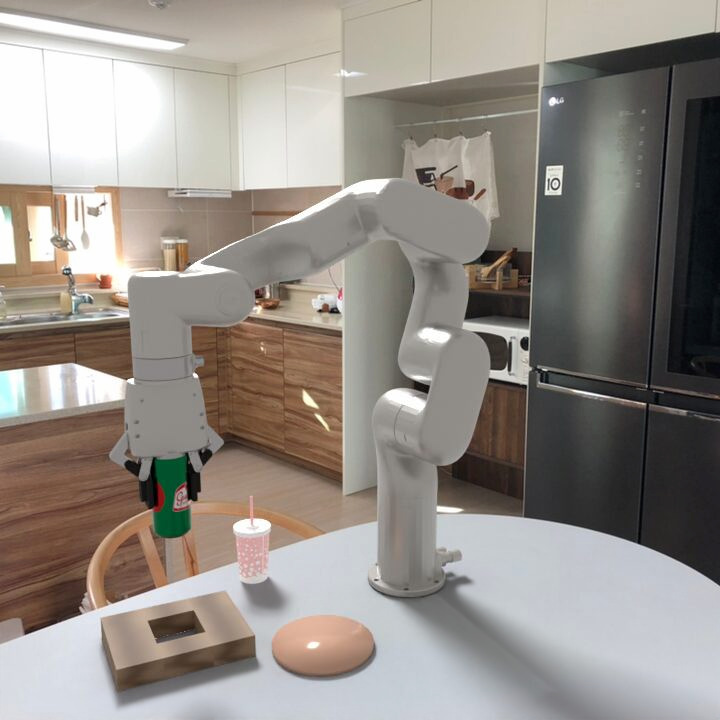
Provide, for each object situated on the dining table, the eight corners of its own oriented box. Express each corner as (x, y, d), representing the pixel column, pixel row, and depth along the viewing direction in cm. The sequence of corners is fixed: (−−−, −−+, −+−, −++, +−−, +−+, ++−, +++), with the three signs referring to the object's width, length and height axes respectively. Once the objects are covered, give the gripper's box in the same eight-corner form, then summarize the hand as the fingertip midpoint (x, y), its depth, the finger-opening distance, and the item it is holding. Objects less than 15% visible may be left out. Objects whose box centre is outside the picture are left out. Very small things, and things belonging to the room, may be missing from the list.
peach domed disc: (347, 611, 115) (347, 606, 114) (391, 659, 102) (392, 654, 102) (257, 634, 109) (257, 629, 108) (294, 687, 96) (293, 682, 96)
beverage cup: (257, 565, 130) (255, 486, 127) (279, 577, 126) (278, 496, 123) (227, 577, 126) (224, 496, 123) (249, 589, 121) (247, 506, 119)
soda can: (182, 541, 100) (177, 453, 97) (146, 538, 101) (141, 451, 98) (198, 526, 105) (194, 441, 102) (163, 523, 106) (159, 439, 103)
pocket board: (226, 608, 116) (225, 590, 115) (255, 655, 103) (255, 635, 103) (101, 637, 108) (100, 617, 107) (117, 691, 96) (116, 669, 95)
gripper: (219, 357, 105) (225, 483, 109) (89, 369, 98) (100, 503, 101) (236, 366, 99) (241, 500, 102) (97, 380, 91) (108, 523, 95)
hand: (171, 500), depth 102 cm, fingers closed on soda can, 5 cm apart
